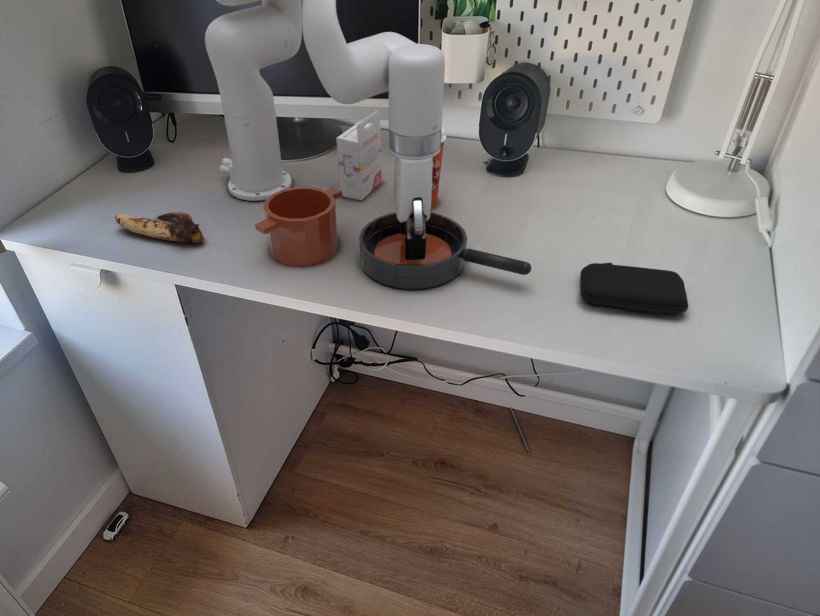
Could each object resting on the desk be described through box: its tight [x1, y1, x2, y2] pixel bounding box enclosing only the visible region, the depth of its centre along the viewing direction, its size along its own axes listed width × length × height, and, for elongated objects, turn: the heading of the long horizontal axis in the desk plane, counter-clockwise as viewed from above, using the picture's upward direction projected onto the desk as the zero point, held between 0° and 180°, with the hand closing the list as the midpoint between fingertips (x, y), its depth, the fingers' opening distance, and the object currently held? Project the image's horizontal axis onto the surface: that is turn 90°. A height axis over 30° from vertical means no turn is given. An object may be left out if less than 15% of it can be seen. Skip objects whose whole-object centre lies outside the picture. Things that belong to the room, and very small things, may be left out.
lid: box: [374, 222, 451, 265], centre depth 104 cm, size 13×13×6 cm
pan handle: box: [462, 247, 532, 276], centre depth 98 cm, size 11×2×2 cm, turn 62°
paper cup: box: [431, 127, 447, 209], centre depth 116 cm, size 8×8×14 cm
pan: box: [358, 211, 468, 290], centre depth 105 cm, size 17×17×4 cm
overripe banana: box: [114, 211, 205, 244], centre depth 115 cm, size 9×5×18 cm
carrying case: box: [579, 262, 689, 317], centre depth 96 cm, size 11×3×15 cm
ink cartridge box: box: [335, 109, 382, 201], centre depth 121 cm, size 9×5×15 cm, turn 150°
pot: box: [254, 186, 343, 267], centre depth 108 cm, size 12×17×8 cm
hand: (412, 245), depth 104 cm, fingers open, 7 cm apart
